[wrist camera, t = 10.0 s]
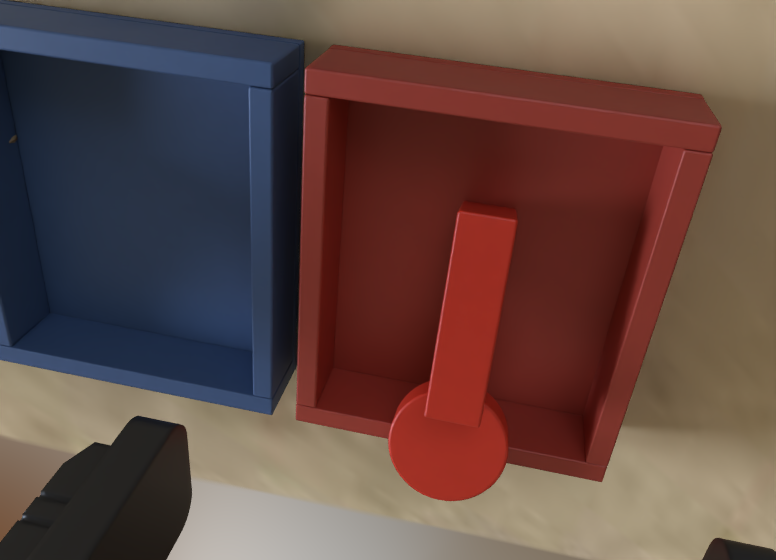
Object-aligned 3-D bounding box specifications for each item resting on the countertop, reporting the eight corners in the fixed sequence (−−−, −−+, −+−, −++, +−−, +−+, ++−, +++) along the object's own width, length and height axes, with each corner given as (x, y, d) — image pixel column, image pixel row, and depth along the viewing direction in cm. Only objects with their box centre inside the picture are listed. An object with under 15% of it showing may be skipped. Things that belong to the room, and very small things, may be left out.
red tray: (332, 43, 18) (304, 67, 15) (702, 94, 16) (723, 126, 14) (317, 371, 23) (295, 420, 21) (597, 425, 22) (602, 483, 20)
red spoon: (428, 194, 19) (419, 203, 16) (552, 214, 18) (558, 225, 16) (386, 471, 20) (372, 512, 18) (497, 494, 20) (496, 538, 18)
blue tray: (-19, -4, 19) (-89, 12, 17) (305, 40, 18) (272, 62, 16) (44, 318, 24) (-3, 360, 22) (296, 366, 23) (272, 416, 21)
